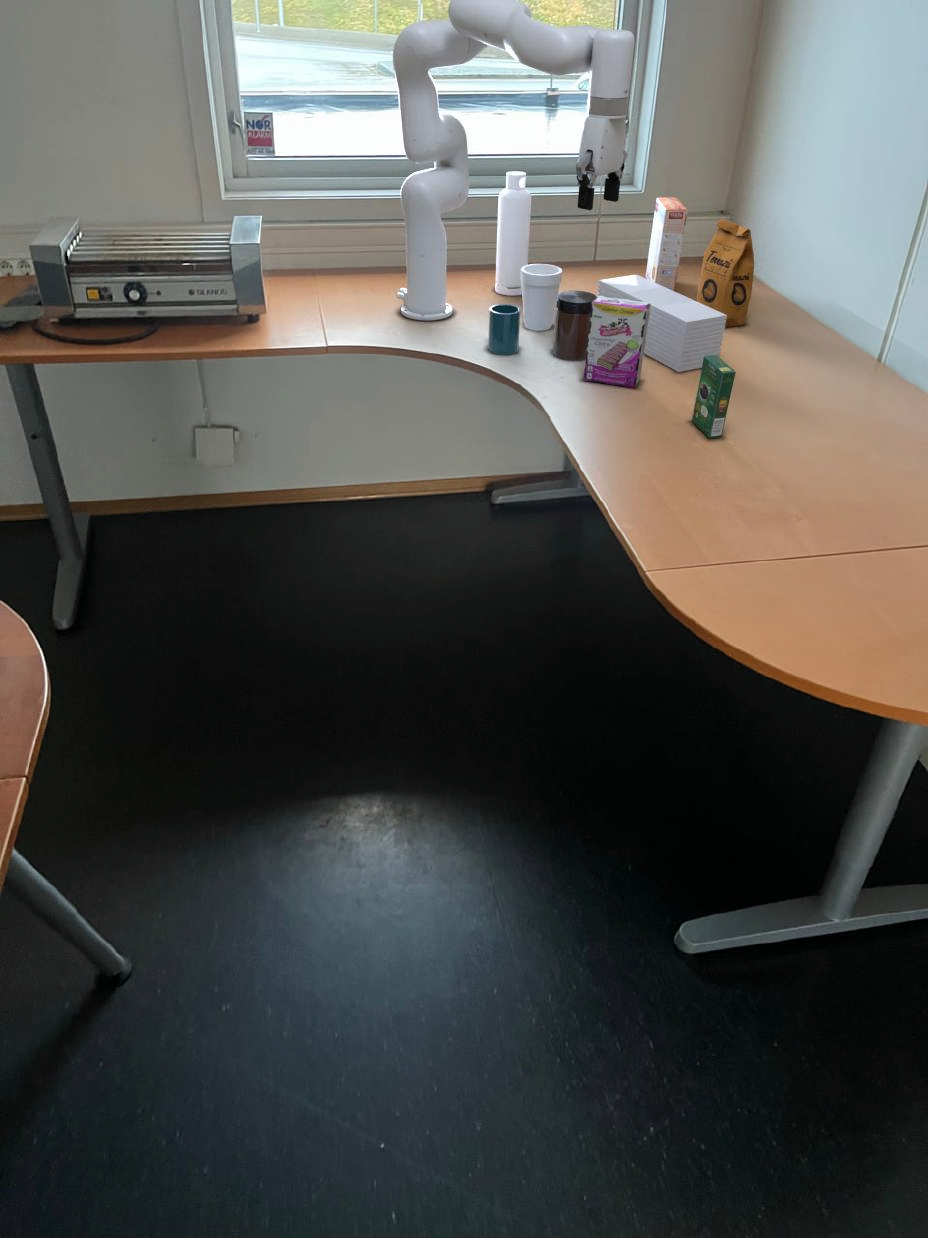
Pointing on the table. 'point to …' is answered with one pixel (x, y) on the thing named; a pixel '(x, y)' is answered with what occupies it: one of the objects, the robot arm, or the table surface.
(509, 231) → the bottle
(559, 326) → the jar
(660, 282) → the cracker box
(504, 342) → the cup
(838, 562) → the table surface
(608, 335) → the candy bar box
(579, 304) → the jar lid
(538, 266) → the foam cup
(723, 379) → the coffee box
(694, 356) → the stack of papers
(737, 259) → the coffee package
